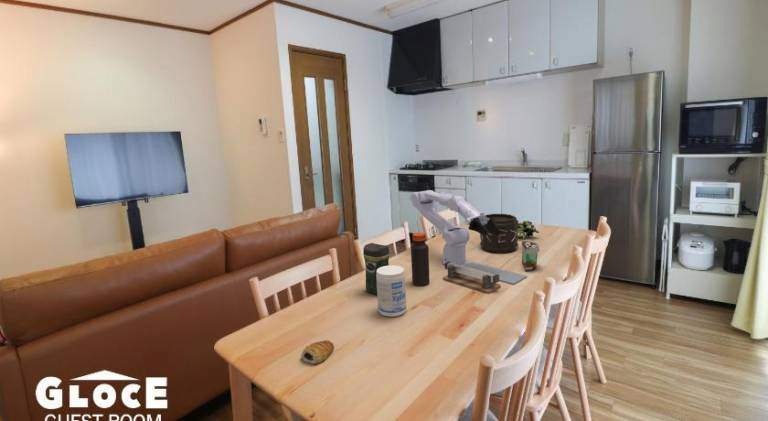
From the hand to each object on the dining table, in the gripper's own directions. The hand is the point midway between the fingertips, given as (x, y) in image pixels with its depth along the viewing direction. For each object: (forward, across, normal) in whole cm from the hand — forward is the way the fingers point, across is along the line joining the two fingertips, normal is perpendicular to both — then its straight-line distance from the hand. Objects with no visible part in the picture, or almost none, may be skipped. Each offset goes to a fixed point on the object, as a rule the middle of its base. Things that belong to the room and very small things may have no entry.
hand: (493, 233), depth 150 cm
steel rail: (+5, -7, +16) cm, 18 cm away
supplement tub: (+8, -42, +27) cm, 50 cm away
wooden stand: (+6, -6, +19) cm, 21 cm away
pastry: (+17, -73, +29) cm, 80 cm away
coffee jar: (-8, -36, +33) cm, 49 cm away
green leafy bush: (-19, +58, +17) cm, 63 cm away
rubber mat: (+3, +8, +17) cm, 19 cm away
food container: (+8, +24, +12) cm, 28 cm away
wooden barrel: (-16, +35, +20) cm, 43 cm away
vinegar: (-5, -20, +28) cm, 34 cm away
